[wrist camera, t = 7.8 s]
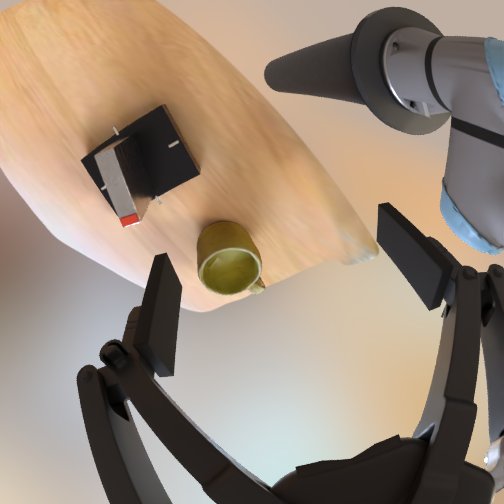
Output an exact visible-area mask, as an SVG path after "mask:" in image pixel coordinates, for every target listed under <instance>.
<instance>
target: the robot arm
mask: <svg viewBox="0 0 504 504" xmlns="http://www.w3.org/2000/svg"><path fill="white" fill-rule="evenodd" d="M379 68H380V73H381V77H382V80H383V82H384V85H385V87H386V89H387V91H388V92H389V94H390V95H391V97H392V98H393V99H394V100H395V101H396V102H397V103H398V104H399V105H400V106H401V107H403V108H404V109H406V110H408V111H410V112H413V113H416V114H420V115H426V117H429V118H430V115H434V114H440V113H446V112H452V114H451V129H450V139H449V148H448V156H447V163H446V169H445V176H444V177H443V179H442V195H441V200H440V210H441V213H442V216H443V218H444V219H445V221H446V223H447V225H448V226H449V227H450V229H451V230H452V231H453V232H454V233H455V234H456V235H457V236H458V237H459V238H460V239H461V240H463V241H464V242H465V243H467V244H468V245H470V246H471V247H473V248H474V249H476V250H478V251H480V252H483V253H486V252H488V253H489V254H490V255H496V254H499V253H500V252H501V251H502V250H504V41H502V40H498V39H496V38H492V37H488V38H481V37H463V36H462V37H461V36H440V35H437V34H434V33H431V32H429V31H426V30H423V29H420V28H416V27H404V28H398V29H395V30H393V31H391V32H390V33H389V34H388V35H387V36H386V37H385V39H384V40H383V42H382V44H381V47H380V52H379ZM377 242H378V243H379V245H380V246H381V247H382V248H383V250H384V251H385V252H386V253H387V255H388V256H389V257H390V258H391V259H392V261H393V262H394V263H395V264H396V266H397V267H398V268H399V270H400V271H401V272H402V274H403V275H404V276H405V278H406V279H407V280H408V282H409V283H410V284H411V286H412V287H413V288H414V290H415V291H416V293H417V294H418V295H419V297H420V298H421V299H422V301H423V302H424V304H425V305H426V307H427V308H428V310H429V311H430V310H433V309H435V308H438V307H440V305H441V302H442V300H443V298H444V300H445V301H446V306H445V308H444V311H443V313H442V316H441V317H443V316H444V319H443V327H442V333H441V340H440V346H439V351H438V356H437V361H436V366H435V370H434V375H433V379H432V383H431V387H430V391H429V394H428V398H427V401H426V405H425V408H424V411H423V414H422V417H421V420H420V422H419V424H418V426H417V428H416V429H415V431H414V434H413V436H412V438H409V437H406V438H400V436H399V434H398V435H396V436H394V437H391V438H389V439H386V440H384V441H381V442H379V443H376V444H374V445H373V446H371V447H370V448H368V449H367V450H365V451H363V452H362V453H360V454H359V455H357V456H355V457H353V458H351V459H343V460H327V461H319V462H315V463H311V464H306V465H302V466H297V467H296V470H295V471H293V472H291V473H289V474H287V475H285V476H284V477H283V478H281V479H280V480H279V481H278V482H276V483H275V484H274V486H273V487H272V488H271V487H270V486H268V485H267V484H266V483H265V482H263V481H262V480H260V479H259V478H258V477H256V476H255V475H254V474H252V473H251V472H249V471H248V470H247V469H245V468H244V467H243V466H242V465H241V464H239V463H238V462H237V461H236V460H235V459H233V458H232V457H231V456H230V455H229V454H227V453H226V452H225V451H224V450H223V449H222V448H221V447H220V446H218V445H217V444H216V443H215V442H214V441H213V440H212V439H211V438H210V437H209V436H208V435H207V434H206V433H204V432H203V431H202V430H201V429H200V428H199V427H198V426H197V425H196V424H195V423H194V422H193V421H192V420H191V419H190V418H189V417H188V416H187V415H186V414H185V412H183V410H182V409H181V408H180V407H179V406H178V405H177V404H176V403H175V402H174V401H173V400H172V399H171V397H170V396H169V395H168V394H167V393H166V392H165V391H164V390H163V388H162V387H161V386H160V385H159V384H158V383H157V382H156V380H155V379H154V373H155V372H156V373H157V375H158V376H159V377H168V376H174V365H175V352H176V340H177V330H178V320H179V311H180V310H179V309H180V302H181V293H182V285H181V283H180V281H179V279H178V276H177V274H176V272H175V270H174V268H173V266H172V264H171V261H170V259H169V257H168V255H167V253H163V254H159V255H155V258H154V261H153V264H152V268H151V271H150V275H149V278H148V282H147V286H146V289H145V293H144V297H143V301H142V305H141V306H139V307H134V308H133V309H132V311H131V312H130V314H129V316H128V320H127V324H126V327H125V332H124V335H123V340H122V342H121V341H120V340H116V339H114V340H111V341H109V342H107V343H106V344H105V345H104V346H103V347H102V348H101V350H100V355H99V356H100V360H101V361H102V362H103V363H104V364H105V365H106V366H104V367H102V368H100V369H97V368H95V367H94V366H93V365H86V366H84V367H83V368H81V370H80V371H79V372H78V375H77V386H78V393H79V398H80V404H81V409H82V414H83V419H84V423H85V428H86V432H87V435H88V440H89V443H90V447H91V451H92V454H93V457H94V461H95V464H96V467H97V470H98V473H99V476H100V479H101V482H102V485H103V487H104V490H105V492H106V495H107V498H108V500H109V502H110V504H172V502H171V500H170V498H169V497H168V495H167V493H166V491H165V489H164V487H163V485H162V484H161V482H160V480H159V478H158V476H157V474H156V472H155V470H154V467H153V465H152V463H151V461H150V459H149V457H148V455H147V452H146V450H145V448H144V445H143V443H142V441H141V438H140V436H139V433H138V431H137V428H136V426H135V423H134V420H133V418H132V415H131V412H130V409H129V406H128V404H127V400H130V401H131V402H132V404H133V405H134V406H135V408H136V409H137V411H138V412H139V413H140V415H141V416H142V418H143V419H144V420H145V421H146V423H147V424H148V425H149V427H150V428H151V429H152V431H153V432H154V433H155V434H156V436H157V437H158V438H159V439H160V441H161V442H162V443H163V444H164V445H165V446H166V448H167V449H168V450H169V451H170V452H171V453H172V455H173V456H174V457H175V458H176V459H177V460H178V461H179V462H180V463H181V465H183V467H184V468H185V469H186V470H187V471H188V472H189V473H190V474H191V475H192V476H193V477H194V478H195V479H196V480H197V481H198V482H199V483H200V484H201V485H202V488H203V490H204V492H205V493H206V494H207V495H208V496H209V497H210V498H211V499H212V500H213V501H214V502H215V503H217V504H493V500H494V496H495V493H497V492H498V491H500V490H501V489H502V488H504V268H503V267H501V266H500V265H497V264H492V265H490V266H489V269H488V271H487V272H480V273H478V272H477V271H476V270H475V269H474V268H472V267H470V266H462V265H461V264H460V263H459V262H458V261H457V260H456V259H455V258H454V256H453V255H452V254H451V253H450V252H448V250H447V249H446V248H445V247H443V245H442V244H441V243H440V242H439V241H438V240H436V239H434V238H432V237H425V235H423V234H422V233H421V232H420V231H419V230H418V229H417V228H416V227H415V226H414V225H413V224H412V223H411V222H410V221H409V220H408V219H406V218H405V217H404V216H403V215H402V214H401V213H400V212H399V211H398V210H397V209H396V208H394V207H393V206H392V205H391V204H390V203H389V202H388V203H382V204H379V205H378V226H377ZM480 336H481V342H482V347H483V354H484V361H485V369H486V378H487V389H488V410H489V435H490V443H491V445H490V447H489V449H488V452H487V453H486V454H485V457H484V459H485V462H486V463H487V464H486V468H485V469H483V468H480V467H478V466H476V465H473V464H471V463H469V462H467V461H465V457H466V454H467V450H468V447H469V443H470V440H471V436H472V432H473V428H474V423H475V419H476V414H477V405H476V404H475V403H474V393H475V388H476V381H477V373H478V364H479V353H480Z"/></svg>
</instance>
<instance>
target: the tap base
mask: <svg viewBox="0 0 504 504" xmlns="http://www.w3.org/2000/svg"><path fill="white" fill-rule="evenodd" d="M112 128H113V130H114V131H115V133H116V134H115V135H114V136H112V137H111V138H110V139H108V140H107V141H105V142H104V143H103V144H101V145H100V146H99V147H97V148H96V149H95V150H93V151H92V152H91V153H89V154H88V155H87V156H85V157H84V158H83V159H82V160H81V162H82V163H83V165H84V167H85V168H86V170H87V171H88V173H89V174H90V176H91V178H92V179H93V181H94V182H95V184H96V185H97V187H98V188H99V190H100V191H101V193H102V194H103V196H104V197H105V199H106V200H107V201H108V203H109V204H110V206H111V207H112V209H113V210H114V212H115V213H116V214H117V212H116V210H115V208H114V205H113V203H112V200H111V198H110V196H109V193H108V191H107V188H106V186H105V183H104V181H103V178H102V175H101V173H100V170H99V168H98V165H97V162H96V159H95V157H94V156H95V155H96V154H97V153H99V152H100V151H102V150H103V149H105V148H106V147H108V146H109V145H111V144H112V143H114V142H115V141H117V140H118V139H120V138H123V137H125V136H128V135H130V134H133V133H135V135H136V138H137V141H138V144H139V147H140V150H141V153H142V156H143V159H144V163H145V165H146V168H147V171H148V174H149V177H150V180H151V183H152V186H153V189H154V191H155V193H154V195H153V197H152V199H151V200H153V199H155V198H156V199H157V201H158V202H159V204H162V202H161V201H160V199H159V197H158V196H160V195H162V194H164V193H166V192H167V191H169V190H171V189H173V188H175V187H177V186H178V185H180V184H182V183H184V182H186V181H188V180H190V179H192V178H194V177H196V176H198V175H199V174H200V170H201V169H200V167H199V165H198V163H197V161H196V160H195V158H194V156H193V154H192V152H191V151H190V149H189V147H188V145H187V143H186V142H185V140H184V138H183V136H182V134H181V132H180V131H179V129H178V127H177V125H176V123H175V122H174V120H173V118H172V116H171V114H170V113H169V111H168V109H167V107H166V105H165V104H164V105H161V106H159V107H158V108H156V109H154V110H153V111H151V112H149V113H148V114H146V115H144V116H143V117H141V118H139V119H138V120H136V121H135V122H133V123H132V124H130V125H129V126H127V127H126V128H124V129H123V130H121V131H120V132H118V131H117V129H116V127H115V126H113V127H112ZM117 216H118V215H117Z"/></svg>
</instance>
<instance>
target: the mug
mask: <svg viewBox="0 0 504 504" xmlns="http://www.w3.org/2000/svg"><path fill="white" fill-rule="evenodd" d="M197 266H198V276H199V279H200V281H201V283H202V284H203V285H204V286H205V287H206V288H207V289H208V290H210V291H211V292H213V293H216V294H219V295H235V294H238V293H241V292H243V291H244V290H246V289H248V290H249V291H250V292H251V293H253V294H259V293H260V292H262V291H263V290H265V285H264V283H263V281H262V280H261V278H260V274H261V271H262V261H261V257H260V253H259V251H258V249H257V247H256V246H255V244H254V242H253V241H252V239H251V237H250V235H249V234H248V232H247V231H246V230H245V229H244V228H243V227H241V226H240V225H238V224H236V223H233V222H229V221H223V222H217V223H214V224H211V225H210V226H208V227H207V228H206V229H204V231H203V232H202V233H201V235H200V237H199V238H198V242H197Z"/></svg>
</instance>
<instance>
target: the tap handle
mask: <svg viewBox="0 0 504 504" xmlns="http://www.w3.org/2000/svg"><path fill="white" fill-rule="evenodd" d="M94 157H95V159H96V162H97V165H98V168H99V170H100V173H101V175H102V178H103V181H104V183H105V186H106V188H107V191H108V193H109V196H110V198H111V200H112V203H113V205H114V208H115V210H116V212H117V215H118V217H119V219H120V221H121V224H122V226H123V227H126V226H130V225H133V224H136V223H139V222H141V221H142V219H143V217H144V214H145V212H146V210H147V208H148V205H149V203H150V201H151V199H152V197H153V195H154V193H155V191H154V189H153V186H152V183H151V180H150V177H149V174H148V171H147V168H146V165H145V163H144V159H143V156H142V153H141V150H140V147H139V144H138V141H137V138H136V135H135V133H133V134H130V135H128V136H125V137H123V138H120V139H118V140H117V141H115V142H114V143H112V144H111V145H109V146H108V147H106V148H105V149H103V150H102V151H100V152H99V153H97V154H96V155H95V156H94Z"/></svg>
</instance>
